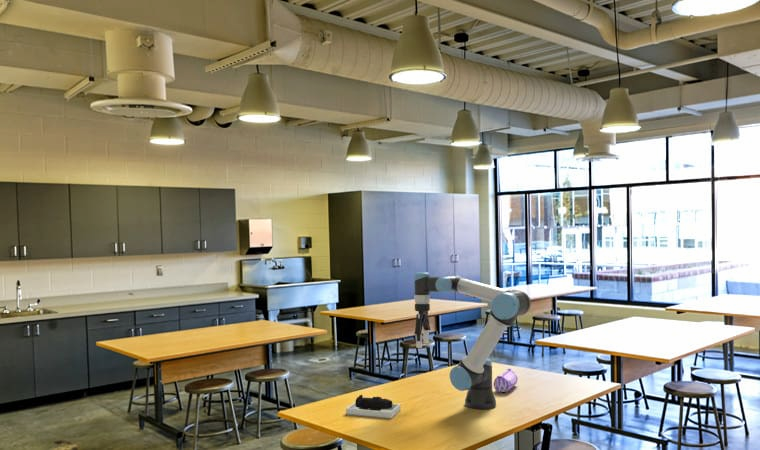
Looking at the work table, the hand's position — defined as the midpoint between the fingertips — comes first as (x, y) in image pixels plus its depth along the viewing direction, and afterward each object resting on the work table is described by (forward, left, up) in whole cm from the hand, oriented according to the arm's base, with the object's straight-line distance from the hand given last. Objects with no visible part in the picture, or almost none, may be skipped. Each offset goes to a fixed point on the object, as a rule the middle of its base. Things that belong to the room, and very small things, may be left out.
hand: (422, 345), depth 301 cm
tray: (+18, +24, -29) cm, 41 cm away
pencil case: (-36, -40, -29) cm, 61 cm away
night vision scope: (+18, +24, -28) cm, 41 cm away
